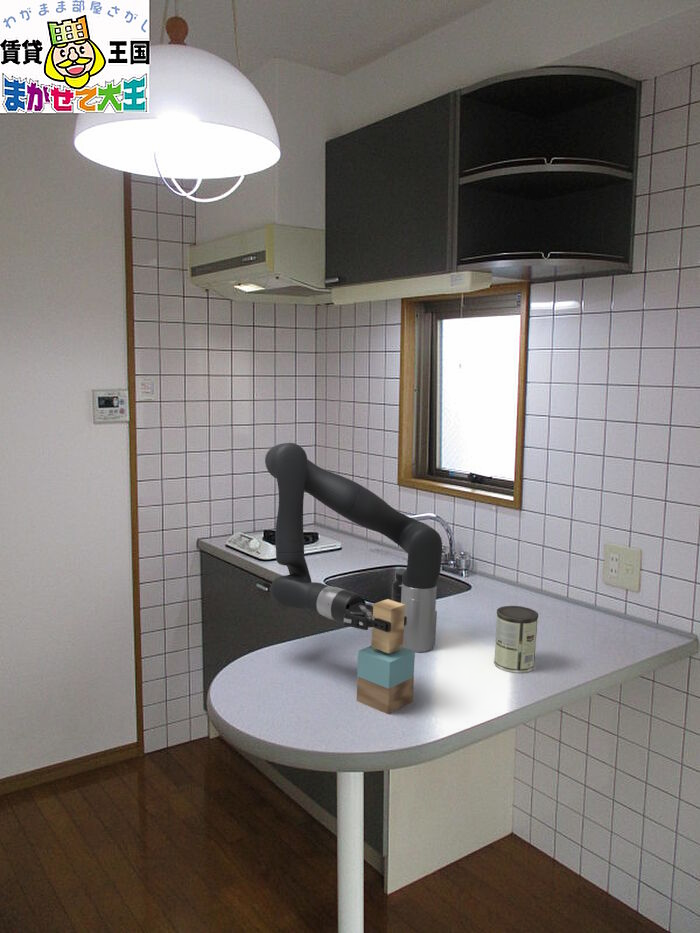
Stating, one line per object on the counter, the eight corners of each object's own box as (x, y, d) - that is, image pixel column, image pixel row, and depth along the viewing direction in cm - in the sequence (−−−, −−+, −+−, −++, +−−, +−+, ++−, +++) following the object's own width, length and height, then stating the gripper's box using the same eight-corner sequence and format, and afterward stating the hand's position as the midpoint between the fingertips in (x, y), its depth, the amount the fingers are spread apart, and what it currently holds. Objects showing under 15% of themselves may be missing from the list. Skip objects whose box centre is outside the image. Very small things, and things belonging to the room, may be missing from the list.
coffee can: (501, 654, 206) (504, 602, 204) (539, 663, 201) (543, 610, 199) (487, 666, 197) (490, 613, 195) (527, 676, 192) (531, 621, 190)
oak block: (385, 641, 177) (387, 599, 175) (402, 647, 174) (405, 604, 172) (371, 646, 173) (373, 603, 172) (388, 653, 170) (391, 609, 169)
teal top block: (382, 665, 181) (383, 640, 180) (413, 676, 175) (415, 651, 174) (357, 676, 174) (358, 650, 173) (388, 688, 168) (390, 662, 167)
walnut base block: (381, 689, 182) (382, 665, 181) (412, 701, 176) (413, 676, 175) (356, 701, 175) (357, 676, 174) (387, 714, 169) (389, 688, 168)
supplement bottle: (399, 605, 242) (401, 568, 240) (417, 611, 237) (419, 573, 236) (386, 611, 236) (388, 572, 235) (404, 616, 232) (406, 577, 230)
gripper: (320, 596, 176) (378, 615, 165) (361, 583, 187) (418, 601, 176) (318, 628, 177) (376, 649, 166) (359, 613, 188) (416, 632, 177)
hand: (397, 624), depth 171 cm, fingers closed on oak block, 5 cm apart
